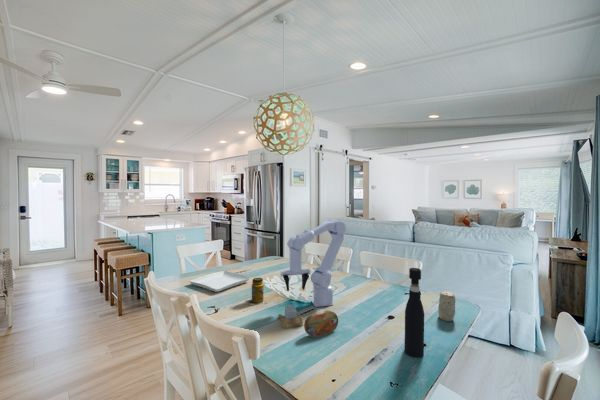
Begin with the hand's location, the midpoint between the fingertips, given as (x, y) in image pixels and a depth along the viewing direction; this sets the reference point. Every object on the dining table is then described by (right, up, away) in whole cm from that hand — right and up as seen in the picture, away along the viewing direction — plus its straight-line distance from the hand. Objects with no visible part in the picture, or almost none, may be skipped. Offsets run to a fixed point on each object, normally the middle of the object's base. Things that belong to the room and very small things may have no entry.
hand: (295, 289), depth 137 cm
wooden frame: (-2, -10, -12) cm, 16 cm away
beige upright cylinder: (+68, -11, -9) cm, 70 cm away
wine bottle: (+43, -11, -36) cm, 57 cm away
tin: (+11, -11, -22) cm, 27 cm away
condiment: (-21, -10, +10) cm, 25 cm away
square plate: (-47, -9, +39) cm, 62 cm away
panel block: (-2, -10, -12) cm, 16 cm away
